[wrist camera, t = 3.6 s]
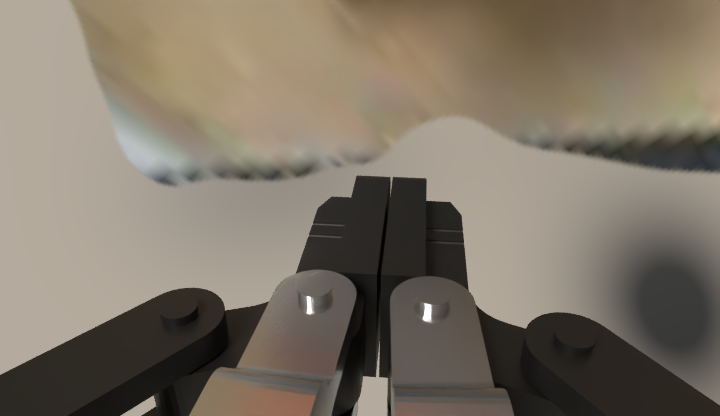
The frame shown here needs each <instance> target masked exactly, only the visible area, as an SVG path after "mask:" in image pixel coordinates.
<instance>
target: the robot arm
mask: <svg viewBox="0 0 720 416" xmlns="http://www.w3.org/2000/svg"><path fill="white" fill-rule="evenodd" d="M390 184H391V183H390V177H377V176H357V177H356V181H355V185H354V189H353V193H352V197H351V198H349V197H331V198H330V199H328V200H327V201H326V202H325V203H324V204H323V205H321V206H320V207H319V208H318V210H317V213H316V215H315V218H314V222H313V225H312V227H311V230H310V233H309V237H308V239H307V242H306V245H305V248H304V251H303V254H302V257H301V260H300V263H299V266H298V269H297V272H296V274H293V275H291V276H289V277H288V278H286V279H285V280H283V281H282V282H281V283H280V284H279V285H278V286H277V288H276V289H275V291H274V293H273V295H272V297H271V299H270V301H268V302H266V303H263V304H260V305H256V306H251V307H245V308H239V309H232V310H226V311H225V307H224V303H223V301H222V300H221V298H220V297H219V296H218V295H216V294H215V293H213V292H211V291H208V290H205V289H200V288H183V289H177V290H172V291H169V292H166V293H164V294H161V295H159V296H157V297H155V298H153V299H151V300H149V301H147V302H145V303H143V304H141V305H139V306H137V307H135V308H133V309H131V310H129V311H127V312H125V313H123V314H121V315H119V316H117V317H115V318H113V319H111V320H109V321H107V322H105V323H103V324H101V325H99V326H97V327H95V328H93V329H91V330H89V331H87V332H85V333H83V334H81V335H79V336H77V337H75V338H73V339H71V340H69V341H67V342H65V343H63V344H61V345H59V346H57V347H55V348H53V349H51V350H49V351H47V352H45V353H43V354H41V355H39V356H37V357H35V358H33V359H31V360H29V361H27V362H25V363H23V364H21V365H19V366H17V367H15V368H13V369H11V370H9V371H7V372H5V373H3V374H1V375H0V416H120V415H122V414H123V413H125V412H127V411H128V410H130V409H132V408H133V407H135V406H137V405H138V404H140V403H141V402H143V401H145V400H147V399H148V398H150V397H151V396H153V395H154V398H155V402H156V407H154V408H153V409H151V410H150V411H148V412H147V413H145V414H143V415H142V416H357V411H358V399H359V397H360V393H361V387H362V380H363V376H369V377H376V369H377V358H378V349H379V341H380V365H379V368H380V369H379V377H386V378H388V397H387V416H720V405H718V404H717V403H715V402H714V401H712V400H711V399H709V398H708V397H706V396H705V395H704V394H702V393H701V392H699V391H698V390H696V389H694V388H693V387H692V386H690V385H689V384H687V383H686V382H684V381H683V380H681V379H680V378H679V377H677V376H676V375H674V374H673V373H671V372H670V371H668V370H667V369H665V368H664V367H662V366H661V365H660V364H658V363H657V362H655V361H654V360H652V359H651V358H649V357H648V356H646V355H645V354H643V353H642V352H640V351H639V350H638V349H636V348H635V347H633V346H632V345H630V344H629V343H627V342H626V341H624V340H623V339H621V338H620V337H618V336H617V335H615V334H614V333H612V332H611V331H610V330H608V329H607V328H605V327H604V326H602V325H601V324H599V323H597V322H595V321H593V320H591V319H589V318H586V317H583V316H580V315H576V314H571V313H558V312H557V313H549V314H544V315H541V316H539V317H537V318H535V319H534V320H532V321H531V322H530V323H529V324H528V326H527V328H526V329H524V328H521V327H518V326H514V325H511V324H508V323H505V322H502V321H499V320H497V319H495V318H493V317H491V316H489V315H487V314H486V313H485V312H483V311H482V310H481V309H479V308H478V307H477V305H476V304H475V301H474V298H473V296H472V295H471V293H470V292H469V290H468V281H467V270H466V259H465V248H464V238H463V228H462V216H461V214H460V213H459V212H458V211H457V210H456V208H455V207H454V206H453V205H452V204H451V202H436V201H426V179H425V178H402V177H393V181H392V189H391V197H390Z"/></svg>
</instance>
